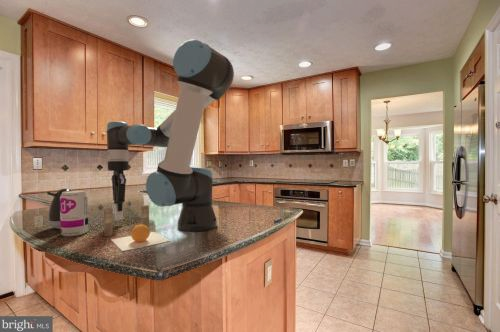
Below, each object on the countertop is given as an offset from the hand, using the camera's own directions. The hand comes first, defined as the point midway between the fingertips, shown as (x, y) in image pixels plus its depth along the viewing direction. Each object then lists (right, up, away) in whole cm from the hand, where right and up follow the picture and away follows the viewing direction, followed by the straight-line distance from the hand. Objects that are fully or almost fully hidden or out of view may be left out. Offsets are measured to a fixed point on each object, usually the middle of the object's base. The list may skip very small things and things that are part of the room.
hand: (119, 219), depth 102 cm
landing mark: (+17, -3, -20) cm, 27 cm away
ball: (+18, 0, -21) cm, 28 cm away
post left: (+3, -3, -14) cm, 14 cm away
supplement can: (-10, -3, -12) cm, 16 cm away
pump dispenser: (-20, -3, -3) cm, 20 cm away
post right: (+13, -3, -6) cm, 14 cm away
